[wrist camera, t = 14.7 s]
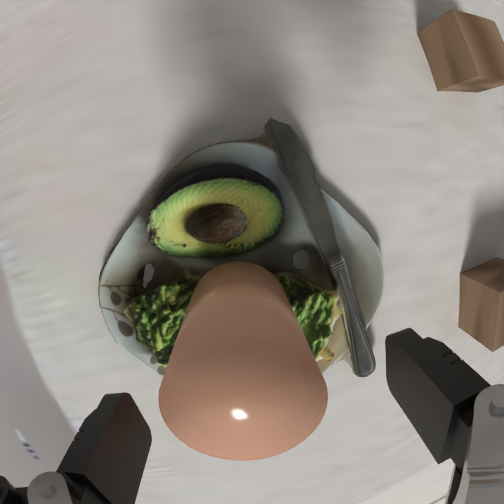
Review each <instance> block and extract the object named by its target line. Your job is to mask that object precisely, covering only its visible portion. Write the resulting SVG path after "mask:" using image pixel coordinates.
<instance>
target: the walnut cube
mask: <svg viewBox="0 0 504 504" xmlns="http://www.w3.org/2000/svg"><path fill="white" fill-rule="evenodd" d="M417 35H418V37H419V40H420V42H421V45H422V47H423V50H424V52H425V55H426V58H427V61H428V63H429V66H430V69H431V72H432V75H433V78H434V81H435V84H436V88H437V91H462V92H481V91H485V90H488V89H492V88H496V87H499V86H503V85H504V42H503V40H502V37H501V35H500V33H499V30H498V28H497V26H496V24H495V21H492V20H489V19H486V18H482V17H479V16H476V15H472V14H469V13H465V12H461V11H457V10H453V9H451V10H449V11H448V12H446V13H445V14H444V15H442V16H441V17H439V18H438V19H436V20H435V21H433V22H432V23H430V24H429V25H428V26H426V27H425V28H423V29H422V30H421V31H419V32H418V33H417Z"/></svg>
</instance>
